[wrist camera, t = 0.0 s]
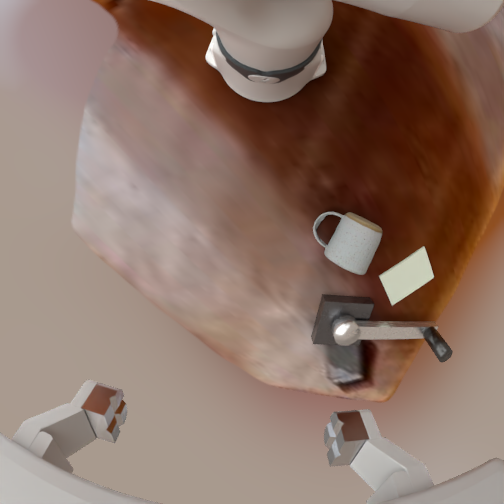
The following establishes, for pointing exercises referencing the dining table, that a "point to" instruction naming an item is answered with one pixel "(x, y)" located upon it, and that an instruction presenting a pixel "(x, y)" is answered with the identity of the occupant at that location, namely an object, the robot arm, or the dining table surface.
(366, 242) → the ceramic mug
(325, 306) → the lever base
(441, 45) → the dining table surface
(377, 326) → the lever arm
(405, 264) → the mat
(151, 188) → the dining table surface
